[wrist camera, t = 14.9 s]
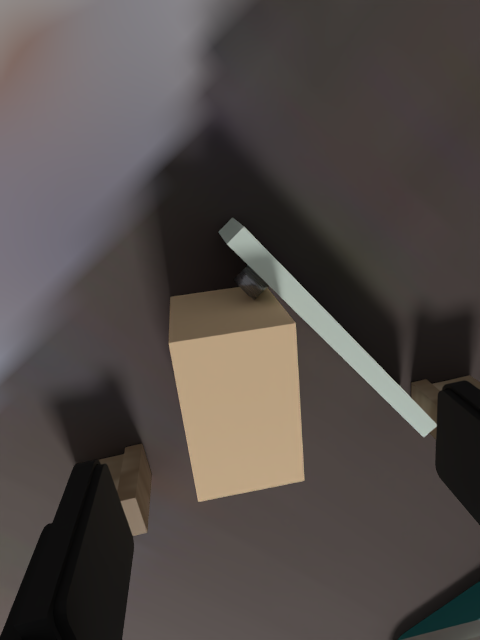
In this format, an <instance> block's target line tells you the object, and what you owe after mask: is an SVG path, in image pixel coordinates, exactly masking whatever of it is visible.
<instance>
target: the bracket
mask: <svg viewBox="0 0 480 640" xmlns="http://www.w3.org/2000/svg"><path fill="white" fill-rule="evenodd" d="M476 620H480V581H479V582H478V583H476V584H475V585H473V586H472V587H470V588H469V589H468V590H466V591H465V592H463V593H462V594H460V595H459V596H457V597H456V598H454V599H453V600H452V601H450V602H449V603H447V604H446V605H444V606H443V607H441V608H440V609H439V610H437V611H436V612H434V613H433V614H431V615H430V616H428V617H427V618H425V619H424V620H423V621H421V622H420V623H418V624H417V625H415V626H414V627H412V628H411V629H409V630H408V631H407V632H405V633H404V634H403V635H402V636H400V637H399V638H398V640H402V639H406V638H410V637H414V636H418V635H421V634H425V633H429V632H433V631H437V630H441V629H444V628H448V627H452V626H456V625H460V624H464V623H468V622H472V621H476Z"/></svg>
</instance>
